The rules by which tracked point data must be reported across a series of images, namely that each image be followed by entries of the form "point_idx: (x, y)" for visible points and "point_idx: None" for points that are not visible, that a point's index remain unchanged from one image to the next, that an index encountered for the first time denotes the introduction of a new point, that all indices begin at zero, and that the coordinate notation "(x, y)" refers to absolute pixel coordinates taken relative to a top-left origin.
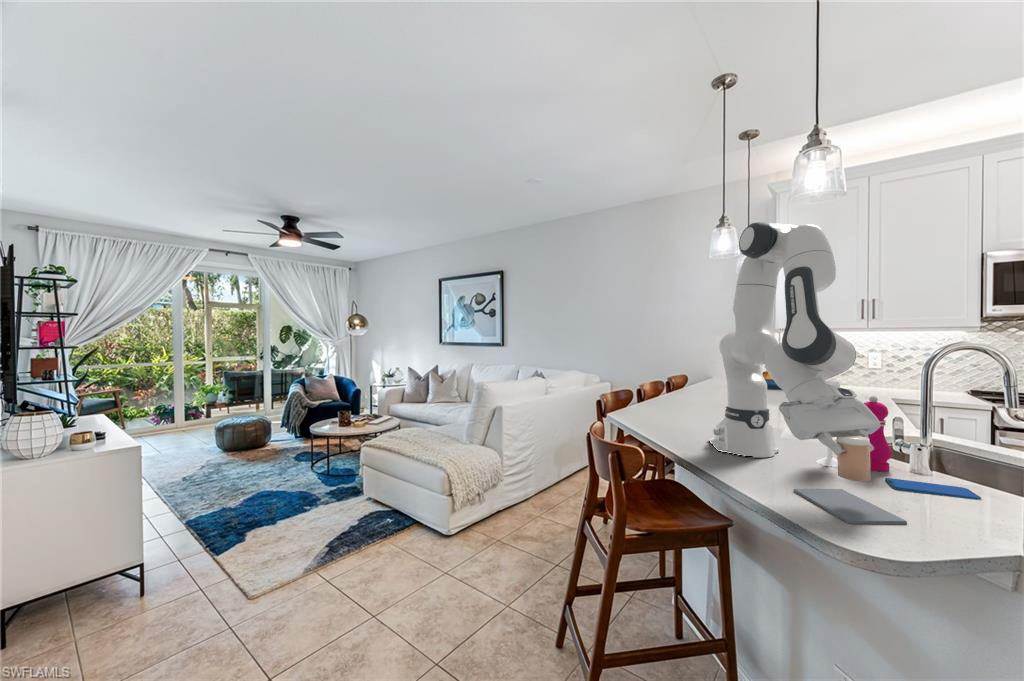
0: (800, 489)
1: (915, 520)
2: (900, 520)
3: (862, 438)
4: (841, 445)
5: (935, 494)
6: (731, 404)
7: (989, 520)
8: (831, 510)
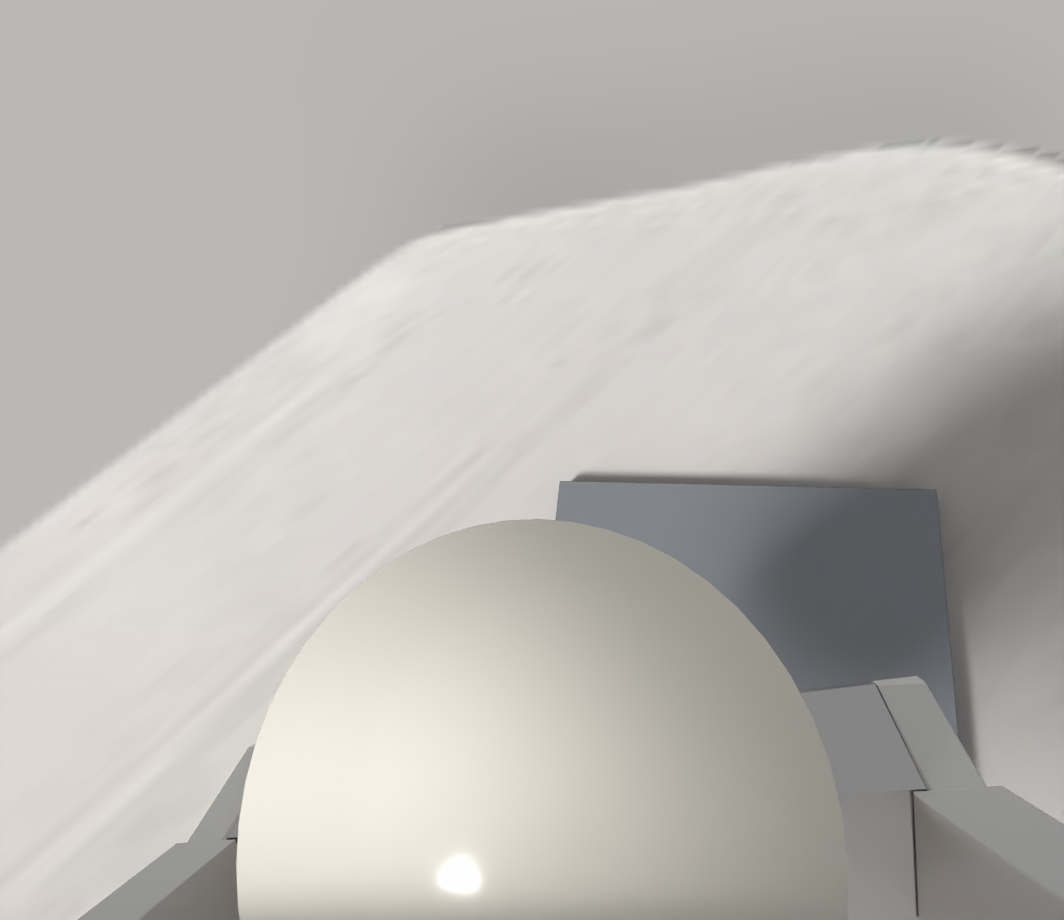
0: None
1: None
2: (588, 489)
3: (386, 699)
4: (849, 755)
5: None
6: None
7: (135, 522)
8: (947, 663)
